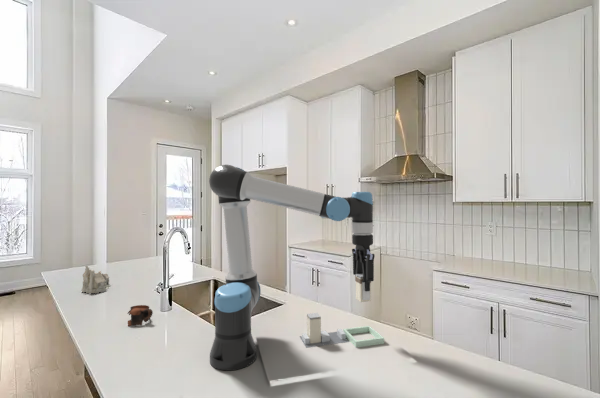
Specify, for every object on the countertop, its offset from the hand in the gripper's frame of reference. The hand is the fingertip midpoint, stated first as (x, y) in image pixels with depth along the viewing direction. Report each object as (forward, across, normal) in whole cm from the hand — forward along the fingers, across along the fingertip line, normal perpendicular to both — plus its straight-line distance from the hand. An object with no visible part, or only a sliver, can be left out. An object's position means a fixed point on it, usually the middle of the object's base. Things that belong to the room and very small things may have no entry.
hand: (363, 297), depth 113 cm
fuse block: (+16, +4, +14) cm, 22 cm away
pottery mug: (+16, +43, +84) cm, 95 cm away
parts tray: (+16, 0, 0) cm, 16 cm away
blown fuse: (+1, 0, 0) cm, 1 cm away
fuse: (+15, +4, +18) cm, 24 cm away
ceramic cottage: (+16, +102, +119) cm, 158 cm away
